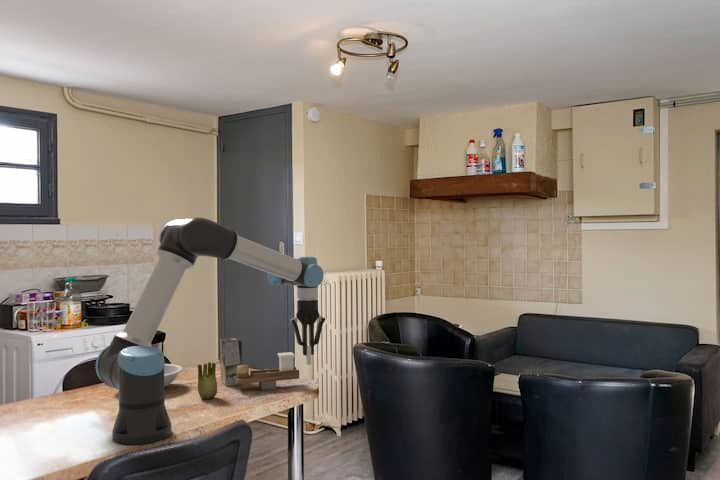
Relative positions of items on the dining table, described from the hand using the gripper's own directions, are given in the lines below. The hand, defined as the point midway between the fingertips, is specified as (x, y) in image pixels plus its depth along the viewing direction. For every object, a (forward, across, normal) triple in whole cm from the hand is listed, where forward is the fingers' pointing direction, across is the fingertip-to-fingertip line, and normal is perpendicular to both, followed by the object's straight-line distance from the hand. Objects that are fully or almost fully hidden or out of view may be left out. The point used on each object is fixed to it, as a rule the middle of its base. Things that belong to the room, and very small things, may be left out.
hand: (308, 363), depth 217 cm
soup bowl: (+8, +55, -15) cm, 58 cm away
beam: (+7, +15, 0) cm, 17 cm away
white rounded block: (+3, +8, 0) cm, 9 cm away
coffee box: (+8, +26, -13) cm, 30 cm away
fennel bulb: (+8, +36, +6) cm, 37 cm away
